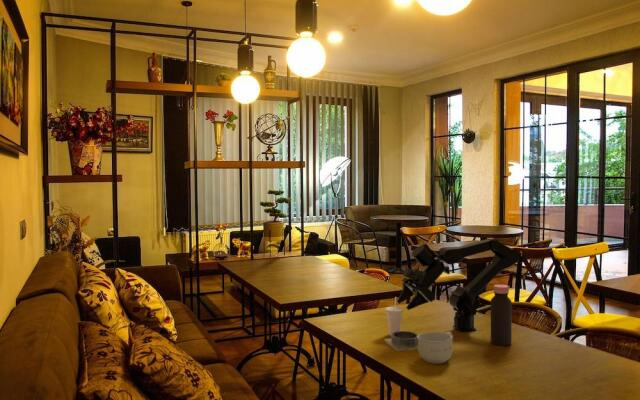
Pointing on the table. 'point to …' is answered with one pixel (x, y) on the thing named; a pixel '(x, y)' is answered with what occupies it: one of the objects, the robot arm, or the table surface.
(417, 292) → the robot arm
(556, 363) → the table surface
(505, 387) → the table surface
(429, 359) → the teacup
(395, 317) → the smoothie
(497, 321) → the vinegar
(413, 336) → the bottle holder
